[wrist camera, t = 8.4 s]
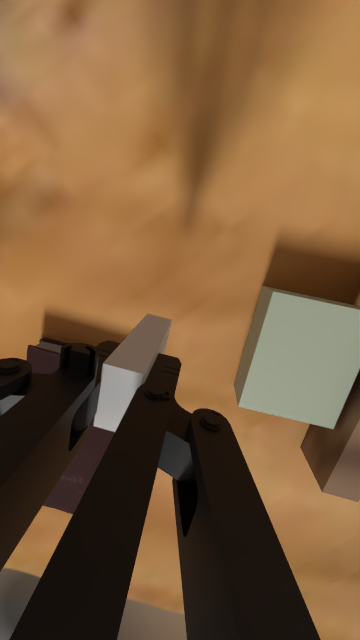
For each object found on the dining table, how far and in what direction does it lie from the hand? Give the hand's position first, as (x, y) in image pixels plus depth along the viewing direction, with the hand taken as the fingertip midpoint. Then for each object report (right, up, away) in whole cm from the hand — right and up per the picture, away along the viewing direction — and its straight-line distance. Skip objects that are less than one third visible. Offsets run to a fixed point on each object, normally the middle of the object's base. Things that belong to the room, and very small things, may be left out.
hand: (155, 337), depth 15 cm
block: (+12, -1, +8) cm, 14 cm away
